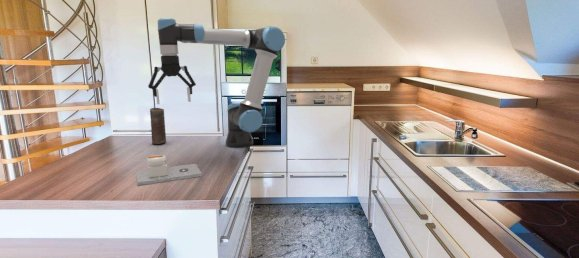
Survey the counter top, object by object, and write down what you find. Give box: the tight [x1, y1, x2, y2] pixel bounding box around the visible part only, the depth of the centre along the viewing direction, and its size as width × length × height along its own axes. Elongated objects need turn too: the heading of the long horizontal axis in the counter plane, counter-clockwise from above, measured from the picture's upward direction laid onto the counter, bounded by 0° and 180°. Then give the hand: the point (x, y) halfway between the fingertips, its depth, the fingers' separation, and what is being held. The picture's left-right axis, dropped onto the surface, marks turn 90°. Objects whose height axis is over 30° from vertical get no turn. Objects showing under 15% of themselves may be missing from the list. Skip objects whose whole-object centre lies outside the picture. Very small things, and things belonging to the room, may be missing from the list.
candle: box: [149, 107, 167, 145], centre depth 183 cm, size 8×7×20 cm
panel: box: [136, 163, 203, 187], centre depth 135 cm, size 24×14×4 cm, turn 116°
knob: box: [146, 154, 168, 178], centre depth 132 cm, size 7×7×8 cm
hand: (174, 102), depth 150 cm, fingers open, 13 cm apart
